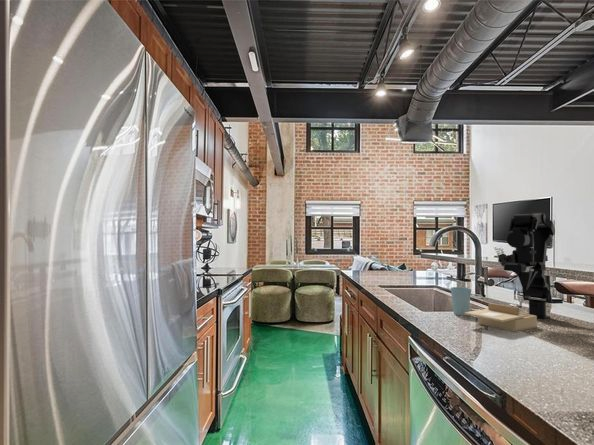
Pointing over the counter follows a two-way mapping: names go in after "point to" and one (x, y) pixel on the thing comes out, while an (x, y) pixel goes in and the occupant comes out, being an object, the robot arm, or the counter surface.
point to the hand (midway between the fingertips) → (525, 289)
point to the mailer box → (511, 323)
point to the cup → (460, 300)
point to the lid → (497, 313)
